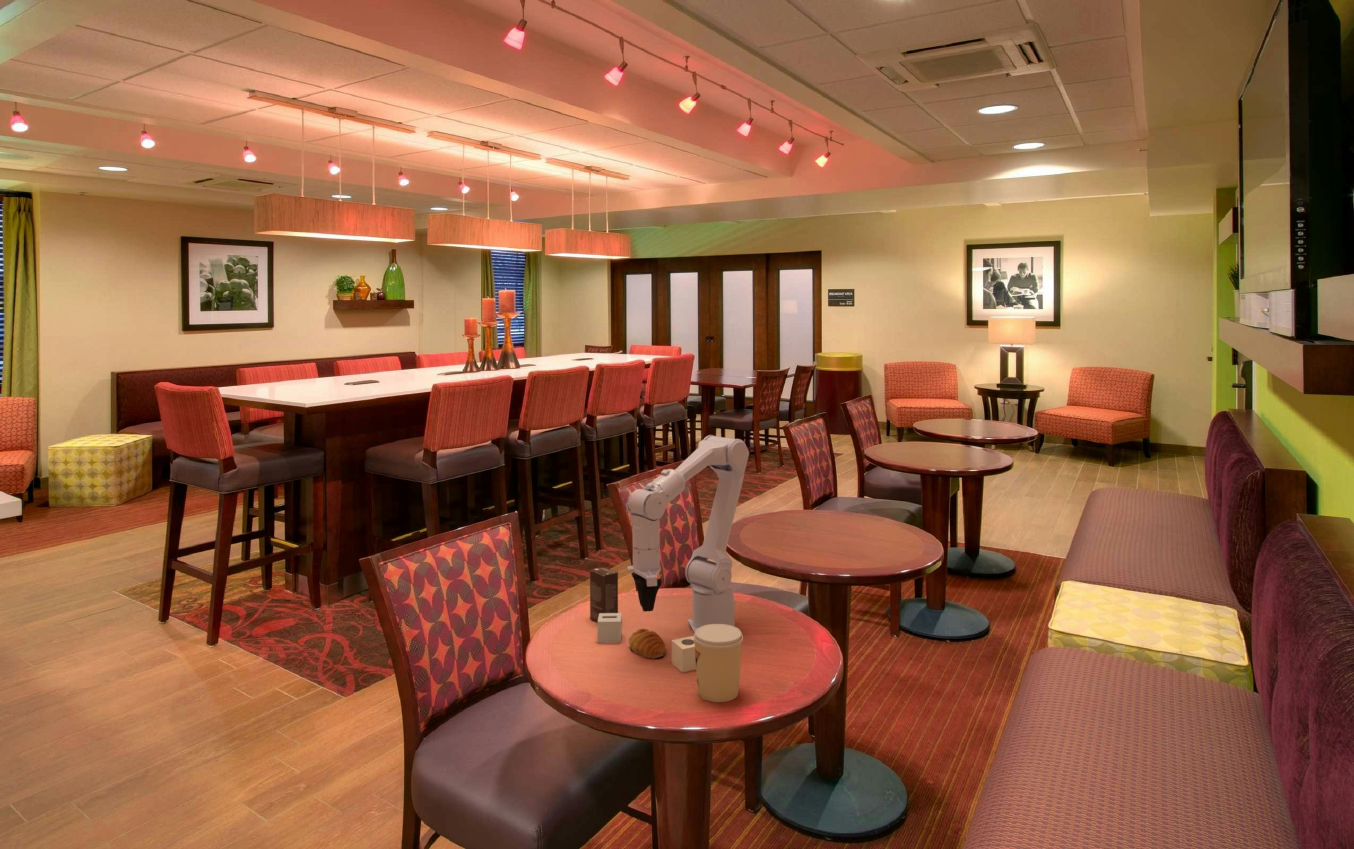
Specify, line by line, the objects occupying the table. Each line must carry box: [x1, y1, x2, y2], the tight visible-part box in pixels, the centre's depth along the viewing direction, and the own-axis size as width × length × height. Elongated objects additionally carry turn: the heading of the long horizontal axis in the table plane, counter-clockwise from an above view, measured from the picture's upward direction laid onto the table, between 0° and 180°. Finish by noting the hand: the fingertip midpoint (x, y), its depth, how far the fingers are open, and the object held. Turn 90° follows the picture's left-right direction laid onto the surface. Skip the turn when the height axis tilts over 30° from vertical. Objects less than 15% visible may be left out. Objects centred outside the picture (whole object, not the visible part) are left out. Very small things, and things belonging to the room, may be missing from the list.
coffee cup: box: [693, 624, 744, 703], centre depth 151 cm, size 9×9×12 cm
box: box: [589, 566, 619, 623], centre depth 188 cm, size 6×4×12 cm
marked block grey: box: [597, 612, 623, 644], centre depth 177 cm, size 5×5×5 cm
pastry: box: [628, 628, 667, 660], centre depth 171 cm, size 9×7×4 cm
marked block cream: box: [671, 635, 696, 673], centre depth 164 cm, size 5×5×5 cm
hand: (646, 608), depth 170 cm, fingers open, 2 cm apart
